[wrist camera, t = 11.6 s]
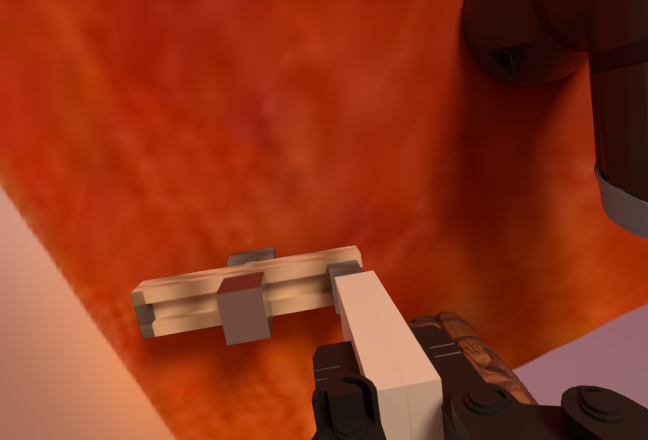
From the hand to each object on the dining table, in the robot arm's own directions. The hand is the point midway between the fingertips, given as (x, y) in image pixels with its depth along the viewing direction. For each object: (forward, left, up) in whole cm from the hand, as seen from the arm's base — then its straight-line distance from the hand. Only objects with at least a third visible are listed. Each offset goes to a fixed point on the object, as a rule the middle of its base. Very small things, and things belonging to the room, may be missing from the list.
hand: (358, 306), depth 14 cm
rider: (+8, -8, -23) cm, 26 cm away
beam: (+8, -8, -28) cm, 31 cm away
